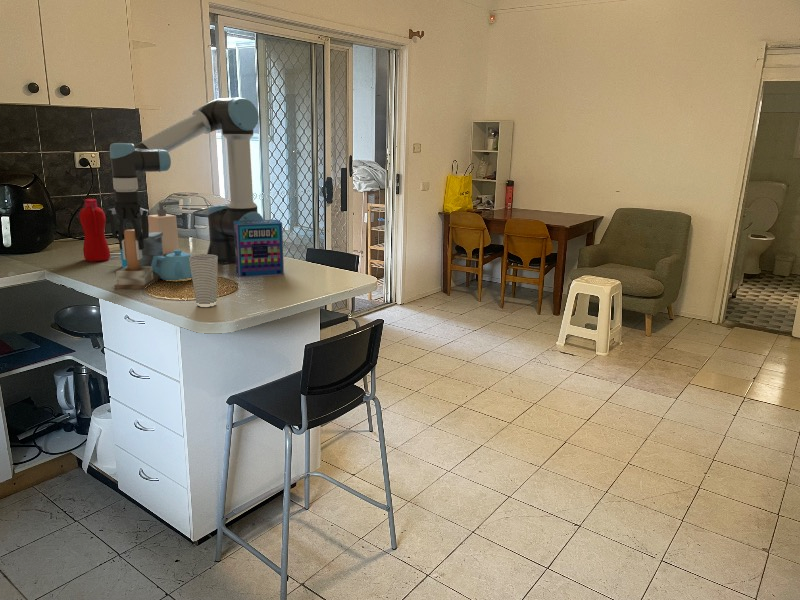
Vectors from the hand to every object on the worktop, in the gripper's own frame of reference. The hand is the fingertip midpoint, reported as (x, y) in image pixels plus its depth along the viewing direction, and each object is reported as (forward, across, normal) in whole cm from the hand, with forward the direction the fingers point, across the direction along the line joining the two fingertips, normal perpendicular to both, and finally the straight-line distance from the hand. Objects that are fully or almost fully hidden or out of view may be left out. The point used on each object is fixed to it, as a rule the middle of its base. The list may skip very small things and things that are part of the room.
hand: (132, 258), depth 206 cm
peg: (+4, 0, 0) cm, 4 cm away
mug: (+10, +11, -30) cm, 34 cm away
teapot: (+10, -12, -10) cm, 19 cm away
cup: (+10, -32, +24) cm, 41 cm away
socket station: (+9, 0, -5) cm, 10 cm away
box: (+9, -39, -20) cm, 45 cm away
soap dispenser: (+9, +9, -60) cm, 61 cm away
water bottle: (+10, +31, -39) cm, 51 cm away
